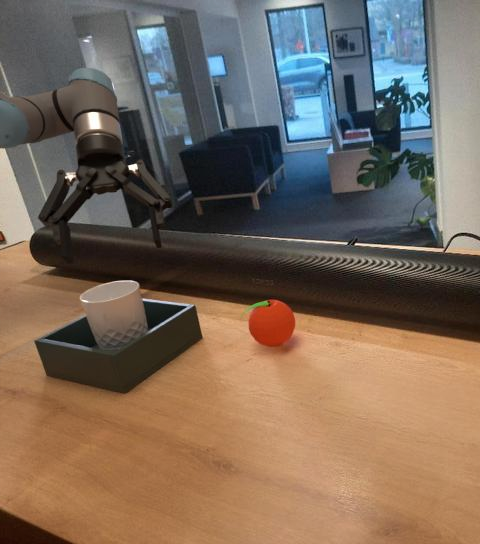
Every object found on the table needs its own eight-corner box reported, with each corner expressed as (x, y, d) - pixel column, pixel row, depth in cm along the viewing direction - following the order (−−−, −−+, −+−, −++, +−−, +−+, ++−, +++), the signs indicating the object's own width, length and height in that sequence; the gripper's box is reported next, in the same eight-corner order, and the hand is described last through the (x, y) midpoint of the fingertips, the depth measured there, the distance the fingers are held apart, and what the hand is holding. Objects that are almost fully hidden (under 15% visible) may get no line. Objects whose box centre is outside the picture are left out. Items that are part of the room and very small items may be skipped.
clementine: (242, 358, 72) (233, 314, 69) (248, 336, 78) (240, 295, 75) (297, 352, 72) (291, 308, 69) (298, 330, 78) (292, 289, 76)
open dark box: (46, 375, 72) (33, 340, 69) (130, 326, 85) (122, 295, 83) (125, 393, 66) (113, 355, 63) (203, 337, 79) (195, 304, 77)
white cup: (154, 356, 73) (138, 294, 69) (96, 370, 70) (75, 307, 67) (154, 333, 80) (139, 276, 76) (101, 346, 77) (83, 287, 73)
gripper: (176, 149, 94) (196, 247, 87) (30, 168, 88) (37, 276, 80) (169, 123, 87) (190, 227, 80) (10, 141, 81) (16, 256, 74)
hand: (113, 252), depth 80 cm, fingers open, 13 cm apart
